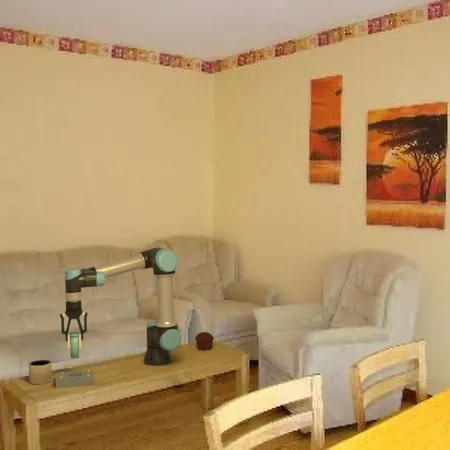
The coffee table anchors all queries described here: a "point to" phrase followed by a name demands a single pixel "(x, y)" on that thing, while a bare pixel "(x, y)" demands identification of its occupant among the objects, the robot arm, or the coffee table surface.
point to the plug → (74, 344)
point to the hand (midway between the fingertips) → (74, 346)
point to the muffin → (204, 341)
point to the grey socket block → (74, 378)
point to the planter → (40, 372)
